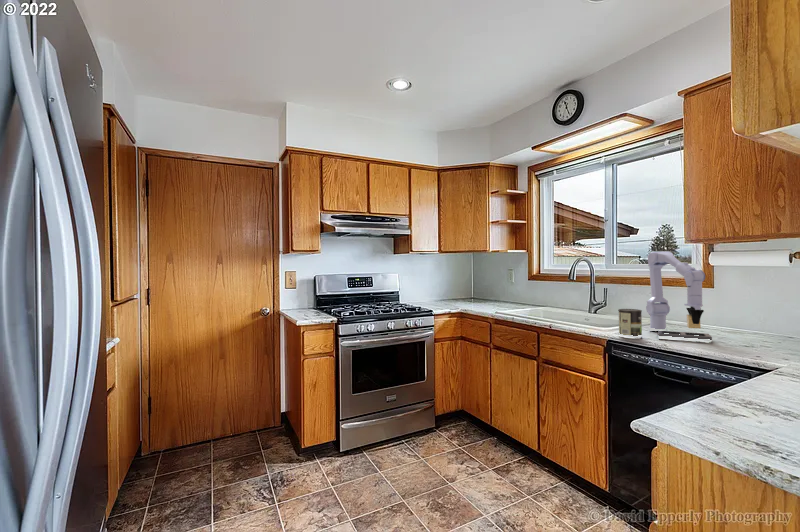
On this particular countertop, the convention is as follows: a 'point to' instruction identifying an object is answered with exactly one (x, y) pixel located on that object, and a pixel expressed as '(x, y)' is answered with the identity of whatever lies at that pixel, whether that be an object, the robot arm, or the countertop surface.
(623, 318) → the coffee can
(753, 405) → the countertop surface
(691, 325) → the tan rectangular block
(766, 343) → the countertop surface
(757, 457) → the countertop surface
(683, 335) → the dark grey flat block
